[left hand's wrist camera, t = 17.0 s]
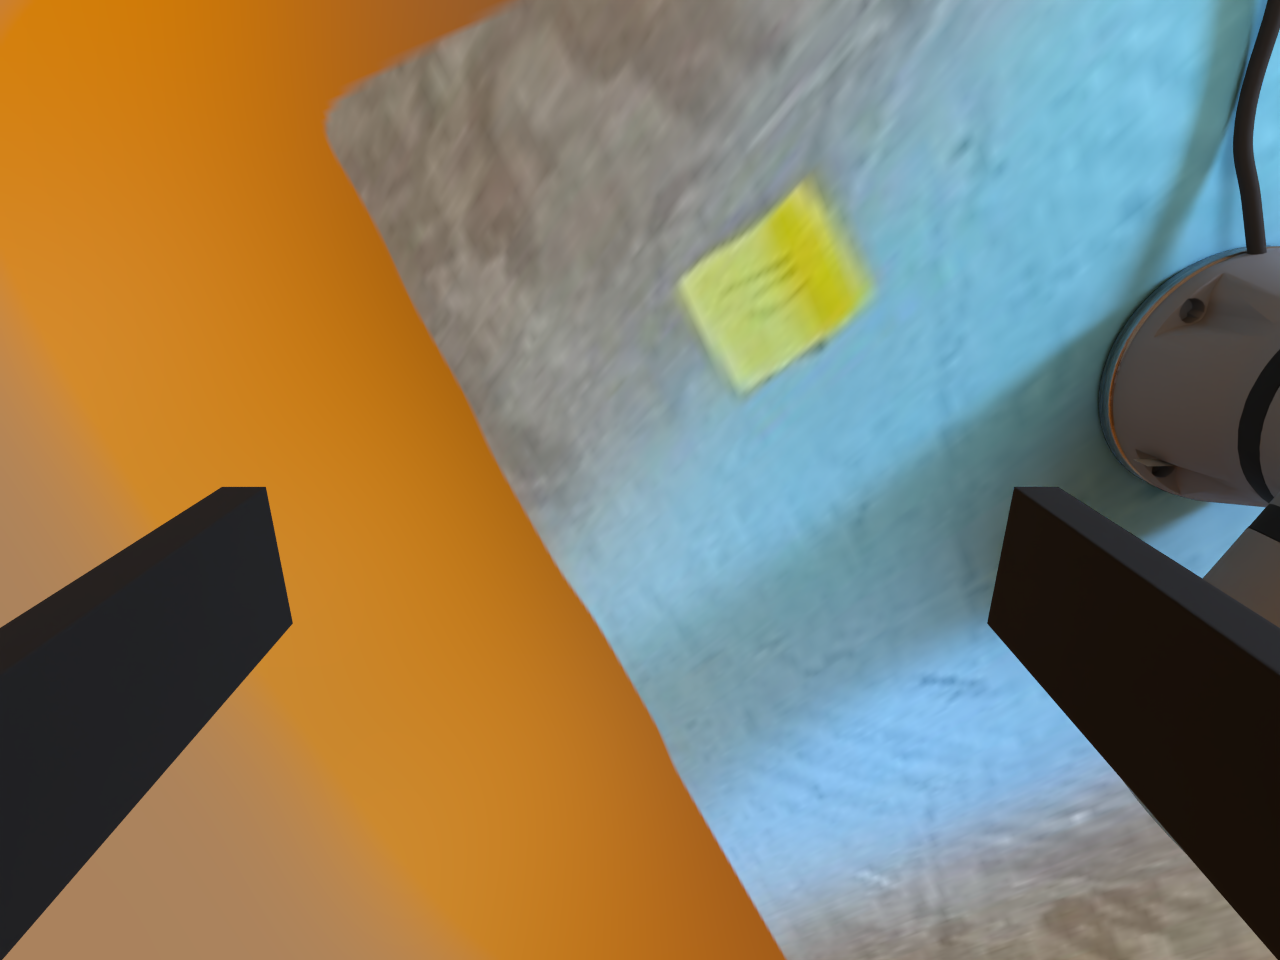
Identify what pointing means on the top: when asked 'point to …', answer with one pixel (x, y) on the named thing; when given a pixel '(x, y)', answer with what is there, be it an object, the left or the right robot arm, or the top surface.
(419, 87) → the top surface
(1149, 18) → the top surface
